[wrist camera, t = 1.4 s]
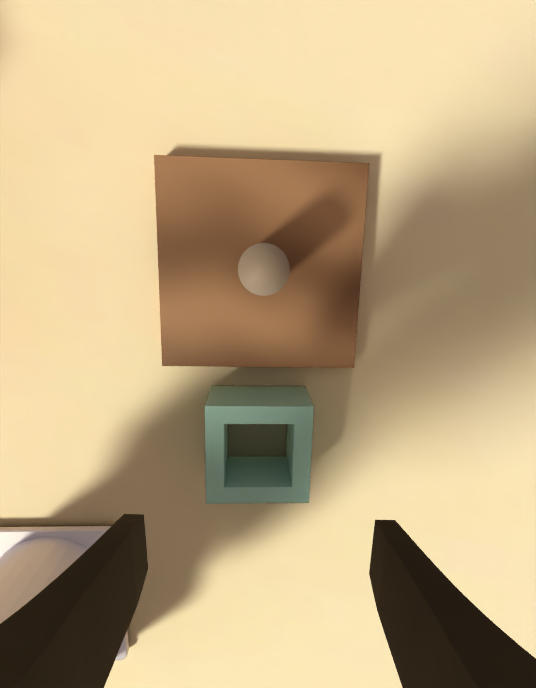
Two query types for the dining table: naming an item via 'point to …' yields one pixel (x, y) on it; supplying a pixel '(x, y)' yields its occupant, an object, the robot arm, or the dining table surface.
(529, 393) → the dining table surface
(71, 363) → the dining table surface
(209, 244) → the post block
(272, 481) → the collar
